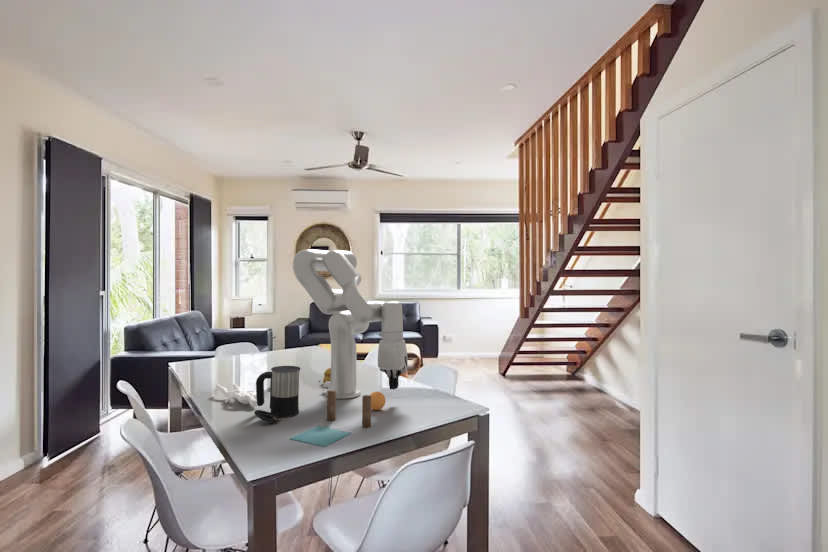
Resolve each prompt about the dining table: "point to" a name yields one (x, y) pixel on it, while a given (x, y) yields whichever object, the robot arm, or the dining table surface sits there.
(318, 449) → the dining table surface
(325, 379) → the bread roll
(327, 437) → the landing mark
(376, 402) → the ball
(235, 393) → the white crumpled cloth
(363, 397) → the post
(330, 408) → the post
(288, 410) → the milk frother
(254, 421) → the dining table surface
